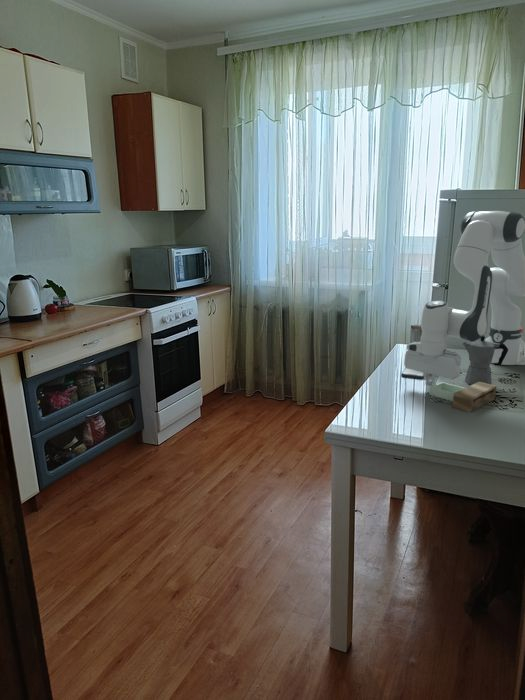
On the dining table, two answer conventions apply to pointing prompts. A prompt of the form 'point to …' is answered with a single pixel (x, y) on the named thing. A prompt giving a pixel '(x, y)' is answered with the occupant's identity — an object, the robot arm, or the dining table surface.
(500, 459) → the dining table surface
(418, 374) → the smartphone
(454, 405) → the walnut shelf
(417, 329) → the coffee box
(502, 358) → the coffeepot
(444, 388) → the tray
